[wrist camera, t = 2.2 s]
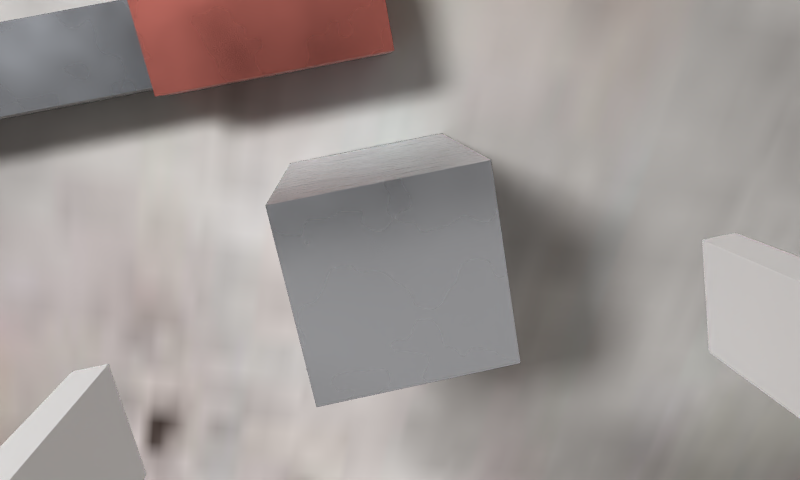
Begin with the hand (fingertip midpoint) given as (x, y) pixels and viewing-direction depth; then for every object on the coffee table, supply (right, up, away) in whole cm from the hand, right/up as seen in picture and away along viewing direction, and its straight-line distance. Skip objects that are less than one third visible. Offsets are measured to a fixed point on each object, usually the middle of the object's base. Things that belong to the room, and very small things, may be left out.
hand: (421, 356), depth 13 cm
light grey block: (-1, +3, +11) cm, 12 cm away
